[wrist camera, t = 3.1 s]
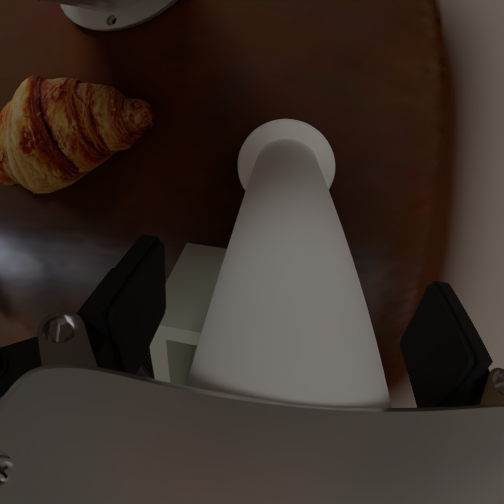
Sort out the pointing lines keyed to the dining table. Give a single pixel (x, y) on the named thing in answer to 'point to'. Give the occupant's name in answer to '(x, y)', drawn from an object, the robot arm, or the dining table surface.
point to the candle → (289, 286)
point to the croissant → (65, 131)
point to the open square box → (185, 311)
